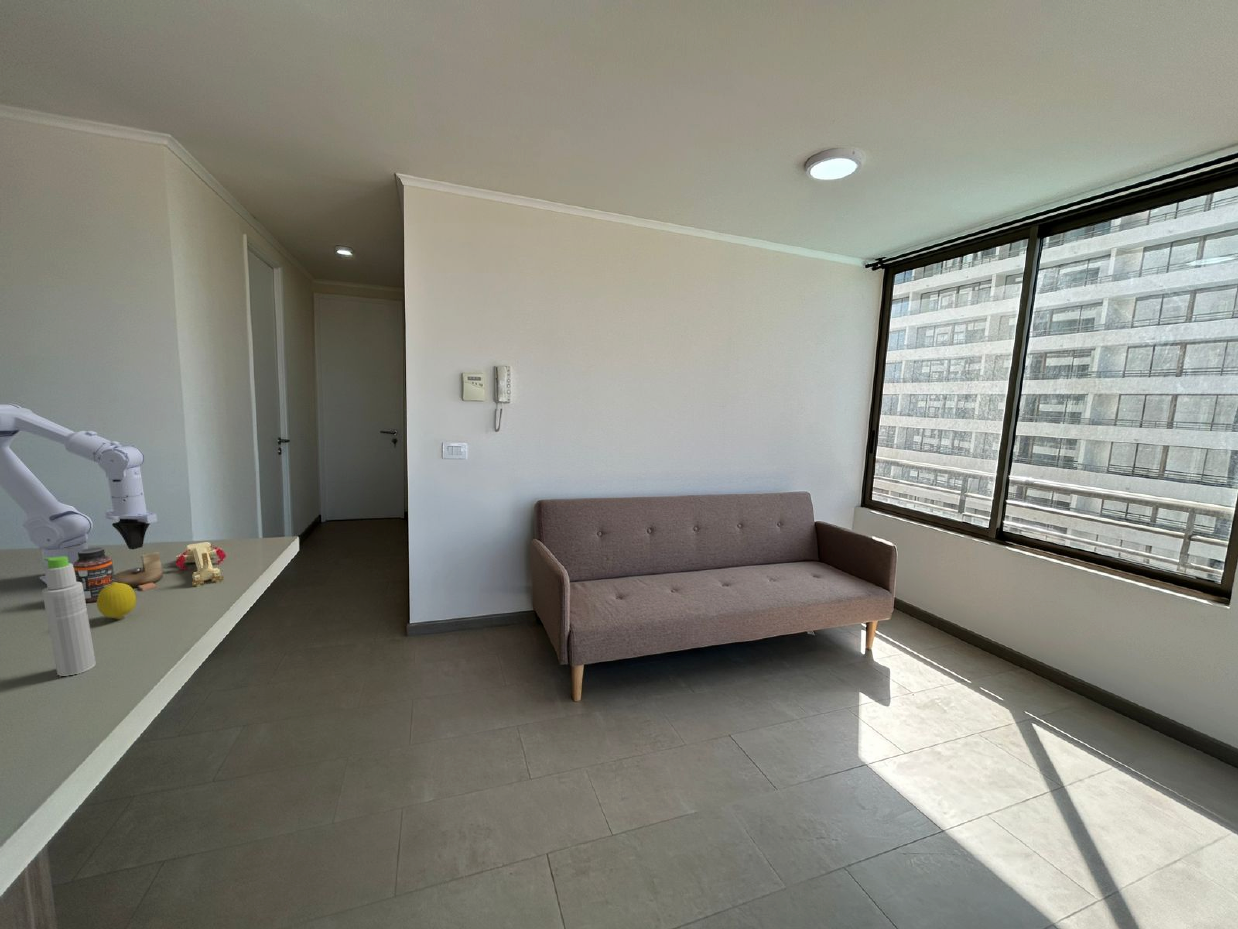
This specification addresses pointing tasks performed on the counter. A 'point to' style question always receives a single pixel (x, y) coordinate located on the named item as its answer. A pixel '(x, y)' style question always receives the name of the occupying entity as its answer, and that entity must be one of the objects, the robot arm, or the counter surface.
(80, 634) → the bottle
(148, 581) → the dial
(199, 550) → the toy vehicle
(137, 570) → the pivot pin
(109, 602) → the lemon
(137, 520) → the robot arm
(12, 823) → the counter surface
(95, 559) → the supplement bottle
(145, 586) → the salmon square tile
